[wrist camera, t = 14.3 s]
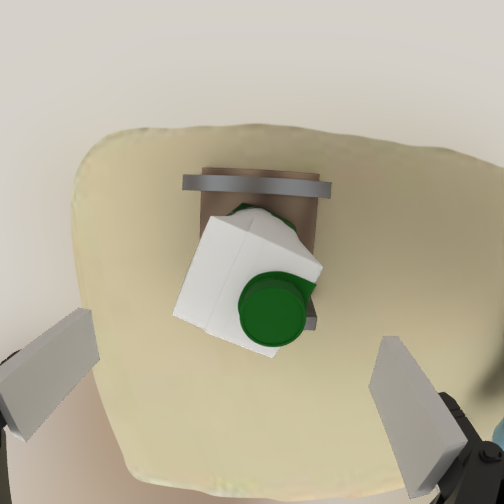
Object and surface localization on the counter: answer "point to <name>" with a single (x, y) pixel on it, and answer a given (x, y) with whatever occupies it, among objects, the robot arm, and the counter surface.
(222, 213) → the carton caddy
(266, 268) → the soya milk
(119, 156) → the counter surface
